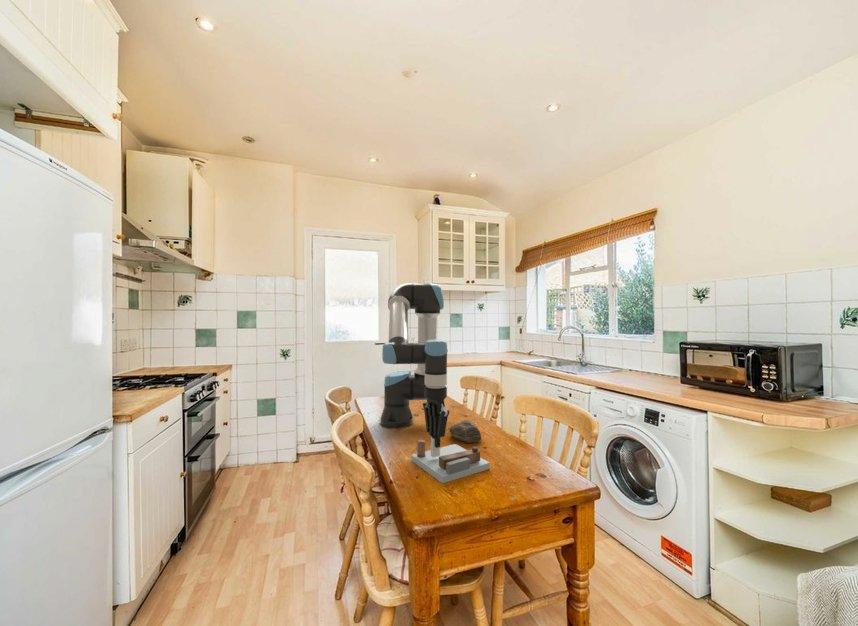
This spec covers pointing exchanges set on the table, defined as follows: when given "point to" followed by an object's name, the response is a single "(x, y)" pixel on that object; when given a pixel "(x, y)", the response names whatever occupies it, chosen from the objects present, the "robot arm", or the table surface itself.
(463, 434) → the stone
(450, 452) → the board
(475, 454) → the leg
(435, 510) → the table surface
